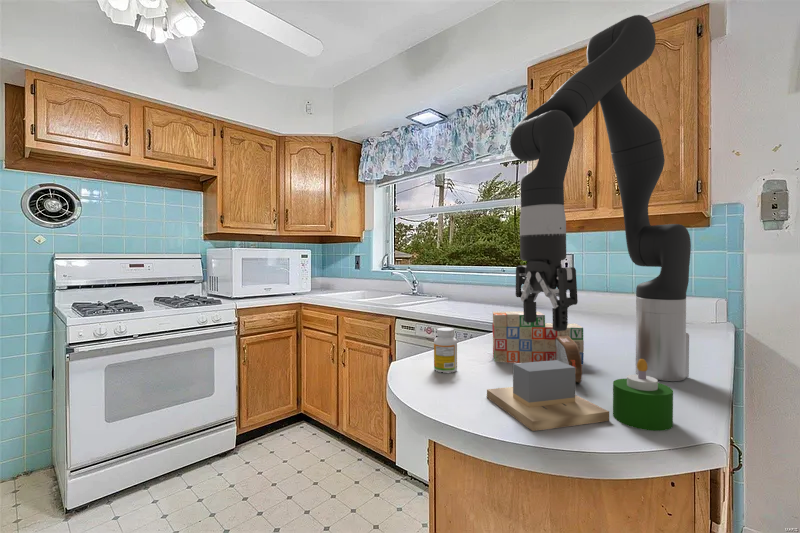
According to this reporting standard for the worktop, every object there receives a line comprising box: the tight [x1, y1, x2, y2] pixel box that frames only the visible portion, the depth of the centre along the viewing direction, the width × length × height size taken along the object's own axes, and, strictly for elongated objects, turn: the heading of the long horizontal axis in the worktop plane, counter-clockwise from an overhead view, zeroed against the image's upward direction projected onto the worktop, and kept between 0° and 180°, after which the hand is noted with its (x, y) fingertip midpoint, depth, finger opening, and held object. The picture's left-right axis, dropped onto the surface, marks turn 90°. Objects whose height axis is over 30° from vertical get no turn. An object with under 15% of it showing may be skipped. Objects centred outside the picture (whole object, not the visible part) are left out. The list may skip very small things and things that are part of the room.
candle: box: [612, 359, 674, 432], centre depth 64 cm, size 8×8×10 cm
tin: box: [555, 336, 583, 384], centre depth 87 cm, size 15×3×8 cm, turn 168°
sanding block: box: [512, 360, 576, 407], centre depth 69 cm, size 5×9×6 cm, turn 104°
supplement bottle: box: [433, 327, 458, 374], centre depth 92 cm, size 5×5×10 cm
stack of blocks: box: [491, 310, 585, 365], centre depth 101 cm, size 21×6×12 cm, turn 81°
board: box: [486, 386, 610, 432], centre depth 69 cm, size 14×15×2 cm
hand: (544, 326), depth 69 cm, fingers open, 8 cm apart
